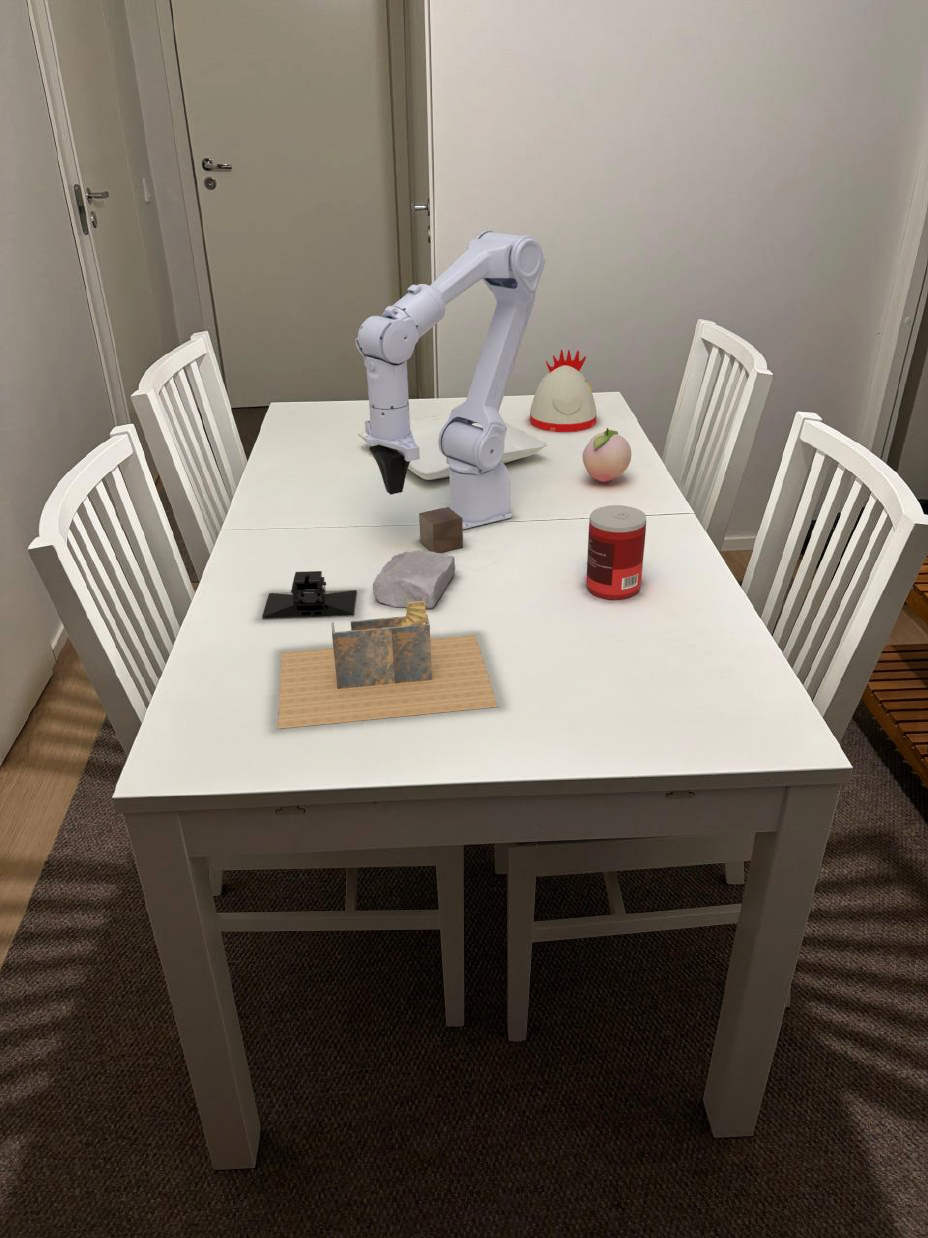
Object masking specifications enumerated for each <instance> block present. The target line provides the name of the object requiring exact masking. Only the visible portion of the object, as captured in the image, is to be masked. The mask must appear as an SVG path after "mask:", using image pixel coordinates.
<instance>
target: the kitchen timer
mask: <svg viewBox="0 0 928 1238" xmlns="http://www.w3.org/2000/svg"><path fill="white" fill-rule="evenodd" d="M566 354H567V355H566V358H565V356H564V352H563V349H560V353H559V357H558V358H559V359H557V358H556V356H555V354H553V355H552V359H553V365H552V366H551V365H550V364H549V362H548V361H547V360H545V364H546V367H547V370H548V372H547V373H546V374H545V376H544V377H543V378H542V380H541V381H540V383H539V384H538V386H537V388H536V390H535V393H534V396H533V399H532V402H531V406H530V409H529V410H530V411H529V412H530V413H529V422H530V425H532V426H533V427H535V428H537V429H540V430H544V431H548V432H555V433H556V432H557V433H573V432H580V431H585V430H588V429H591V428H592V427H594V426H595V425H596V423H597V406H596V403H595V398H594V395H593V391H592V390H593V386H592V384H591V383H590V382H588V380H587V378H586V377H585V376H584V374H583V373H582V372H581V369H582V367H583V366H584V363H585V362H586V359H587V356H586V355H584V356H583V357H582V358H581V360H580V350H579V349H577V351H576V354H575V355H574V358H573V359H572V354H571V350H570V349H567V353H566Z"/></svg>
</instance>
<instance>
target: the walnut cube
mask: <svg viewBox="0 0 928 1238" xmlns="http://www.w3.org/2000/svg"><path fill="white" fill-rule="evenodd" d="M418 518H419V519H418V520H419V522H418V524H419V543H421V544H422V545H423V546H424V547H425V548H426V549H427V550H428V551H431V552H435V553H440V554H443V553H447V552H451V551H454V550H458V549H463V548H464V529H463V521H462V517H461V516H459V515H458V514H457V513H455V512H454V511H453V510H451V509H450V506H445V507H441V508H436V509H431V510H426V511H423V512H418Z"/></svg>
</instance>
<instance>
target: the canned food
mask: <svg viewBox="0 0 928 1238" xmlns="http://www.w3.org/2000/svg"><path fill="white" fill-rule="evenodd" d="M588 521H589V522H588V534H587V535H588V538H587V559H586V577H585V579H586V580H585V584H586V586H587V589H588V591H589V592H590V593H591V594H592V595H594V596H596V597H599V598H601V599H605V600H625V599H628V598H630V597H633V596H634V595H636V594H637V593H638V592H639V590H640V588H641V586H642V578H643V577H642V576H643V568H644V567H643V565H644V555H645V546H646V545H645V544H646V533H647V515H646V513H645V512H644V511H642V510H640V509H638V508H637V507H633V506H629V505H623V504H622V505H620V504H614V505H605V506H601V507H598V508H595V509H594V510H592V511H591V512H590V514H589V518H588Z"/></svg>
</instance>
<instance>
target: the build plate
mask: <svg viewBox="0 0 928 1238" xmlns="http://www.w3.org/2000/svg"><path fill="white" fill-rule="evenodd" d="M294 572H295V573H294V576H293V580H292V584H291V589H290V591H288V592H287V591H285V592H283V591H282V592H269V593H268V595H267V598H266V602H265V605H264V609H263V612H262V615H261V619H262V620H283V619H311V618H312V619H313V618H339V617H341V618H342V617H343V618H344V617H355V612H356V606H357V605H356V604H357V596H358V589H343V590H326V586H327V581H326V580H325V579H326V578H325V576H323V571H322V570H312V571H311V570H310V571H309V570H308V571H307V570H306V571H294Z"/></svg>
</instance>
